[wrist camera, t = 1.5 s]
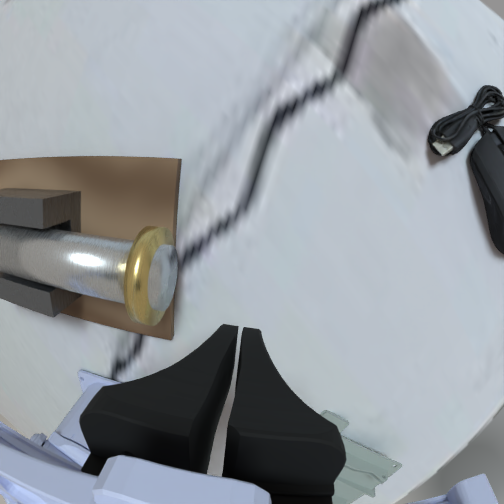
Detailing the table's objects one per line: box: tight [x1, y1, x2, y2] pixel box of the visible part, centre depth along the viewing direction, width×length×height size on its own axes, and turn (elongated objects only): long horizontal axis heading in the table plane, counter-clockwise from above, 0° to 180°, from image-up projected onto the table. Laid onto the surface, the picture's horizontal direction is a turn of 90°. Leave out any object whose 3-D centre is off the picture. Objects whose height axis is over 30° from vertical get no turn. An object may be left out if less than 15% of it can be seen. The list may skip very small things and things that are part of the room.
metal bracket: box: [320, 410, 402, 504], centre depth 27 cm, size 14×6×15 cm
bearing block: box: [0, 188, 83, 317], centre depth 20 cm, size 9×10×5 cm
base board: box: [0, 156, 182, 340], centre depth 22 cm, size 14×24×1 cm, turn 84°
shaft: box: [0, 223, 178, 326], centre depth 18 cm, size 6×16×6 cm, turn 84°
